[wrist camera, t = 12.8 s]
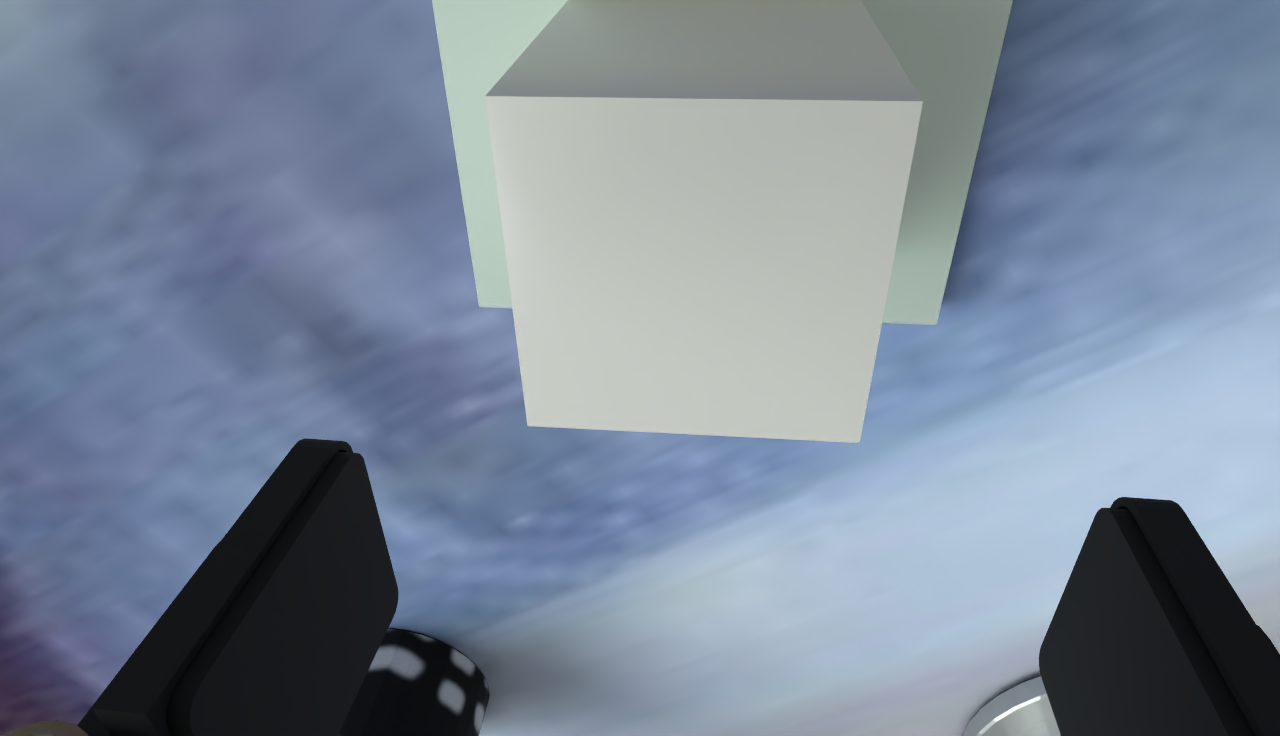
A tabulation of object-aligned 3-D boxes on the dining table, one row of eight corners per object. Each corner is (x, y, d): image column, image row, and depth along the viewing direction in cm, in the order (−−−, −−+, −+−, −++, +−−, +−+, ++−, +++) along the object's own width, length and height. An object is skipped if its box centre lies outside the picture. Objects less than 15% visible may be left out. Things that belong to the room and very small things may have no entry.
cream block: (859, -1, 19) (923, 101, 12) (825, 261, 23) (859, 442, 16) (569, -2, 20) (485, 95, 13) (585, 254, 24) (527, 426, 17)
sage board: (1023, -105, 18) (1036, -101, 17) (929, 307, 25) (936, 324, 24) (430, -101, 19) (417, -96, 19) (487, 291, 26) (479, 307, 25)
